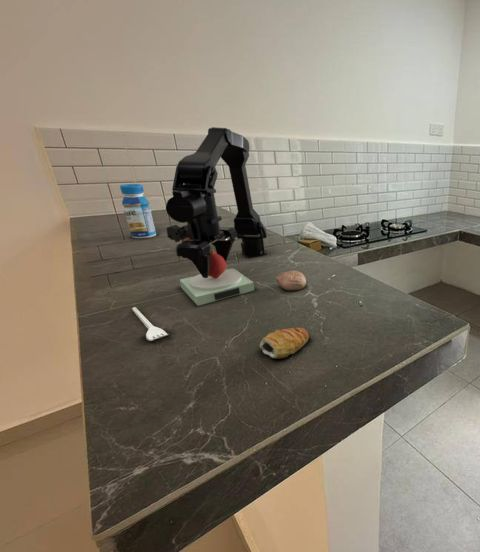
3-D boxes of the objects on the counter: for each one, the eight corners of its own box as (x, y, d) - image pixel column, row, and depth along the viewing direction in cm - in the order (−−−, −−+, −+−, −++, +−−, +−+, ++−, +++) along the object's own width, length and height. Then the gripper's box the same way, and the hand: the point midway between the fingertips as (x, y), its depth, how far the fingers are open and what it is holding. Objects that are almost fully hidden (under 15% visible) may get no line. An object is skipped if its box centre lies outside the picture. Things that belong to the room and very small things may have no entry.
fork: (142, 308, 77) (140, 301, 77) (173, 340, 66) (170, 333, 65) (125, 312, 75) (123, 305, 74) (154, 347, 63) (151, 339, 63)
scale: (234, 275, 98) (232, 265, 97) (255, 291, 89) (253, 280, 87) (181, 287, 88) (178, 276, 87) (198, 306, 79) (195, 294, 78)
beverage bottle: (161, 236, 131) (149, 185, 124) (136, 240, 125) (122, 187, 117) (151, 232, 135) (139, 183, 128) (127, 236, 129) (112, 184, 121)
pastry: (295, 331, 71) (294, 316, 70) (316, 342, 68) (316, 327, 66) (257, 351, 64) (254, 334, 62) (278, 364, 60) (276, 347, 59)
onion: (217, 283, 84) (212, 254, 81) (198, 280, 85) (192, 252, 82) (232, 275, 90) (228, 248, 87) (214, 273, 91) (209, 245, 88)
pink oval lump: (269, 286, 92) (280, 288, 86) (274, 265, 93) (286, 266, 87) (293, 292, 97) (305, 294, 91) (298, 272, 98) (311, 273, 92)
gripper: (192, 205, 89) (203, 258, 95) (144, 220, 72) (160, 284, 78) (233, 207, 90) (241, 260, 95) (195, 222, 72) (207, 286, 78)
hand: (214, 271), depth 87 cm, fingers open, 9 cm apart
